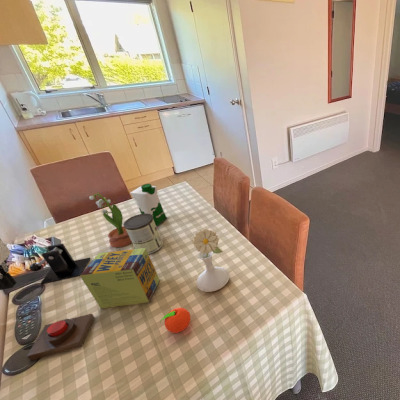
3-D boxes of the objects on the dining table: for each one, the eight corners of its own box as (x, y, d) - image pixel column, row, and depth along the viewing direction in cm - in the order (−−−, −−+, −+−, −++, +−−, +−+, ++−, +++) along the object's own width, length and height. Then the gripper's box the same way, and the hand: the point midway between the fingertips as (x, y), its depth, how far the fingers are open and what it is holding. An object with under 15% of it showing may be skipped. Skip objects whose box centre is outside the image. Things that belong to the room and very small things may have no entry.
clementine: (163, 342, 78) (155, 327, 74) (165, 323, 83) (158, 308, 80) (193, 332, 80) (187, 317, 77) (192, 314, 86) (187, 299, 82)
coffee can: (133, 247, 115) (120, 220, 108) (158, 236, 121) (148, 210, 114) (139, 258, 108) (126, 231, 101) (166, 246, 115) (155, 220, 108)
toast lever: (34, 274, 97) (24, 270, 95) (39, 268, 100) (30, 264, 98) (60, 255, 97) (51, 250, 95) (64, 250, 100) (55, 245, 98)
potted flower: (101, 247, 115) (74, 197, 102) (120, 233, 123) (96, 186, 110) (126, 250, 113) (100, 200, 100) (143, 236, 121) (121, 187, 109)
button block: (30, 360, 74) (22, 352, 72) (49, 329, 82) (42, 321, 80) (82, 346, 77) (75, 338, 75) (95, 317, 85) (89, 309, 83)
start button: (47, 338, 75) (43, 334, 74) (54, 326, 79) (51, 322, 78) (64, 334, 76) (61, 330, 76) (70, 322, 80) (67, 318, 79)
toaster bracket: (42, 286, 97) (23, 262, 91) (55, 267, 105) (39, 244, 99) (81, 277, 100) (66, 253, 94) (91, 260, 108) (78, 237, 102)
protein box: (150, 302, 90) (133, 269, 82) (100, 309, 88) (78, 275, 80) (160, 279, 99) (146, 247, 91) (115, 284, 97) (97, 252, 89)
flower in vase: (190, 289, 94) (169, 234, 82) (212, 267, 104) (196, 214, 91) (220, 300, 90) (203, 243, 78) (240, 276, 100) (228, 221, 87)
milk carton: (158, 227, 127) (143, 190, 117) (141, 225, 128) (125, 189, 118) (169, 216, 135) (157, 181, 125) (153, 215, 136) (139, 180, 126)
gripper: (-36, 217, 66) (7, 270, 76) (-92, 256, 54) (-33, 313, 64) (2, 212, 69) (40, 264, 78) (-43, 248, 56) (7, 305, 66)
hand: (7, 286), depth 71 cm, fingers closed
